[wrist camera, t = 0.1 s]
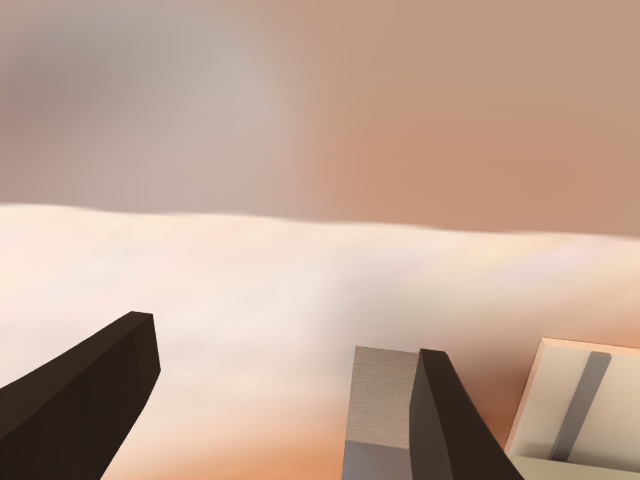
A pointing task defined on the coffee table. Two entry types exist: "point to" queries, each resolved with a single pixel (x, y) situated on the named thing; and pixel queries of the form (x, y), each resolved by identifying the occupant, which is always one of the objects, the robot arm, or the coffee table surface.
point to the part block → (379, 415)
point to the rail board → (580, 406)
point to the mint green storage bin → (566, 470)
